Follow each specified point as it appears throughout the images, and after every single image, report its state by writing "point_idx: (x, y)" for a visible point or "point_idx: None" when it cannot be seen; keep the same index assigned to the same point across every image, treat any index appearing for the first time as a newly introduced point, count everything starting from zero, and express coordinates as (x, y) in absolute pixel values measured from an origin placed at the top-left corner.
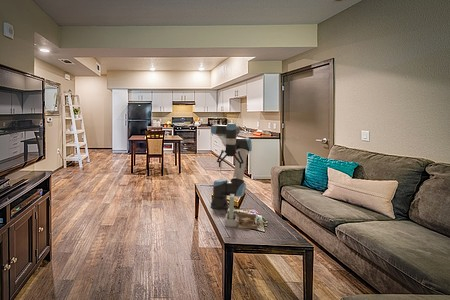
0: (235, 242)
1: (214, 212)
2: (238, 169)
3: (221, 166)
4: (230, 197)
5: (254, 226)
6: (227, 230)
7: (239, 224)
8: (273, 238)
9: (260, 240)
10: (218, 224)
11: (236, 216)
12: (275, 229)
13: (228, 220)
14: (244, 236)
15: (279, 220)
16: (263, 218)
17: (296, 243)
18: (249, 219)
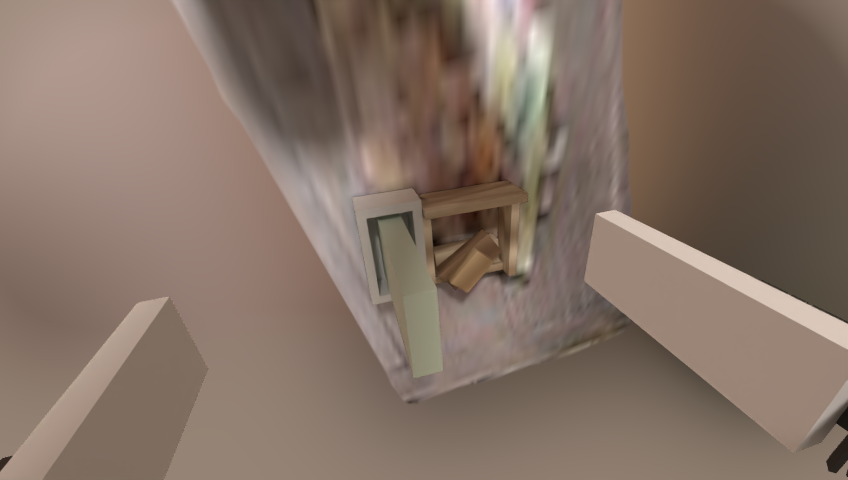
0: (430, 390)
1: (224, 43)
2: (639, 323)
3: (84, 426)
4: (418, 375)
5: (498, 268)
6: (388, 315)
7: (436, 277)
8: (548, 321)
9: (506, 350)
10: (331, 265)
11: (422, 240)
12: (573, 240)
13: (389, 299)
14: (456, 341)
15: (623, 109)
16: (552, 97)
17: (604, 330)
18: (487, 268)
